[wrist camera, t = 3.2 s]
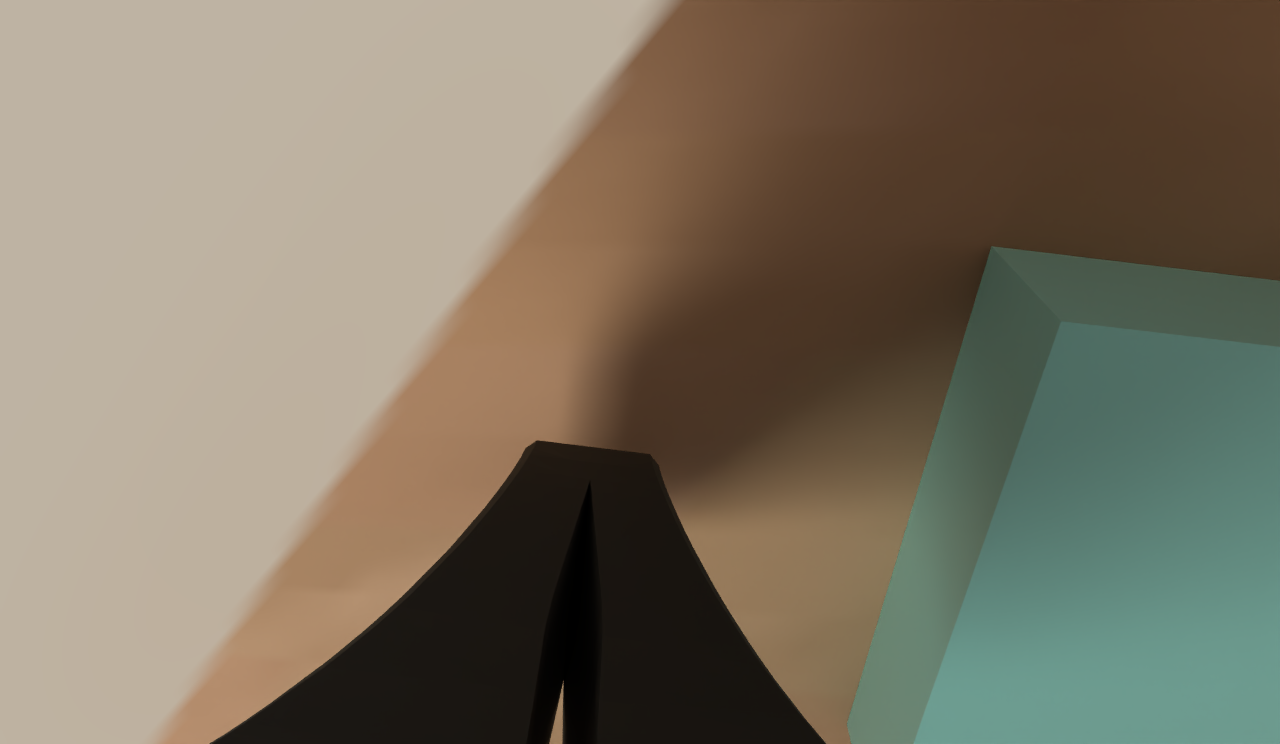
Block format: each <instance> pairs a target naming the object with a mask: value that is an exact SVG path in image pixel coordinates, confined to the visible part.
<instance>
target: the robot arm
mask: <svg viewBox="0 0 1280 744" xmlns="http://www.w3.org/2000/svg"><path fill="white" fill-rule="evenodd" d="M563 680H564V689H563V743H562V744H826V743H825V742H824V741H823V740H822V738H821V737H820V736H819V735H818V734H817V732H816V731H815V730H814V729H813V728H812V726H811V725H810V724H809V723H808V722H807V720H806V719H805V718H804V717H803V716H802V714H801V713H800V712H799V710H798V709H797V708H796V706H795V705H794V704H793V703H792V701H791V700H790V699H789V697H788V696H787V695H786V694H785V692H784V691H783V690H782V688H781V687H780V686H779V684H778V683H777V682H776V680H775V679H774V678H773V676H772V675H771V674H770V672H769V671H768V669H767V668H766V667H765V665H764V664H763V662H762V661H761V659H760V658H759V656H758V655H757V654H756V652H755V651H754V649H753V648H752V646H751V645H750V643H749V642H748V640H747V639H746V637H745V636H744V634H743V632H742V631H741V629H740V628H739V626H738V625H737V623H736V622H735V620H734V618H733V617H732V615H731V614H730V612H729V611H728V609H727V607H726V606H725V604H724V602H723V601H722V599H721V597H720V595H719V594H718V592H717V590H716V589H715V587H714V585H713V583H712V582H711V580H710V578H709V576H708V574H707V572H706V570H705V569H704V567H703V565H702V563H701V561H700V559H699V558H698V556H697V554H696V552H695V550H694V548H693V546H692V544H691V542H690V540H689V538H688V536H687V534H686V532H685V530H684V528H683V526H682V524H681V522H680V520H679V517H678V515H677V513H676V511H675V509H674V506H673V504H672V502H671V499H670V497H669V494H668V492H667V489H666V487H665V484H664V481H663V478H662V476H661V473H660V469H659V466H658V464H657V463H656V461H655V460H654V459H653V458H652V456H651V455H650V454H643V453H635V452H627V451H619V450H610V449H602V448H594V447H586V446H578V445H570V444H562V443H554V442H546V441H538V440H537V441H536V442H534V443H533V444H531V445H530V446H528V447H527V448H526V449H525V451H524V452H523V454H522V456H521V458H520V460H519V461H518V463H517V464H516V466H515V467H514V469H513V471H512V472H511V474H510V475H509V476H508V478H507V479H506V481H505V482H504V483H503V485H502V486H501V487H500V489H499V490H498V491H497V493H496V494H495V495H494V497H493V498H492V499H491V500H490V502H489V503H488V504H487V506H486V507H485V508H484V509H483V510H482V512H481V513H480V514H479V515H478V516H477V517H476V519H475V520H474V521H473V522H472V523H471V524H470V526H469V527H468V528H467V529H466V530H465V531H464V533H463V534H462V535H461V536H460V537H459V538H458V540H457V541H456V542H455V543H454V544H453V545H452V546H451V547H450V549H449V550H448V551H447V552H446V553H445V554H444V555H443V556H442V557H441V558H440V559H439V560H438V561H437V562H436V563H435V564H434V565H433V566H432V567H431V568H430V569H429V570H428V571H427V572H426V573H425V574H424V575H423V576H422V577H421V578H420V579H419V580H418V581H417V582H416V583H415V584H414V585H413V586H412V587H411V588H410V589H409V590H408V591H407V592H406V593H405V594H404V595H403V596H402V597H401V598H400V599H399V600H398V601H397V602H396V603H395V604H394V605H393V606H391V607H390V608H389V609H388V610H387V611H386V612H385V613H384V614H383V615H382V616H380V617H379V618H378V619H377V620H376V621H375V622H374V623H373V624H371V625H370V626H369V627H368V628H367V629H366V630H364V631H363V632H362V633H361V634H360V635H359V636H357V637H356V638H355V639H354V640H352V641H351V642H350V643H349V644H348V645H346V646H345V647H344V648H343V649H342V650H340V651H339V652H338V653H337V654H335V655H334V656H333V657H332V658H331V659H329V660H328V661H327V662H325V663H324V664H323V665H322V666H320V667H319V668H317V669H316V670H315V671H313V672H312V673H311V674H309V675H308V676H307V677H305V678H304V679H303V680H301V681H300V682H299V683H297V684H296V685H295V686H293V687H292V688H291V689H289V690H288V691H286V692H285V693H284V694H282V695H281V696H280V697H278V698H277V699H276V700H274V701H273V702H272V703H270V704H269V705H267V706H266V707H264V708H263V709H262V710H260V711H259V712H257V713H256V714H254V715H253V716H251V717H250V718H249V719H247V720H246V721H244V722H243V723H241V724H240V725H238V726H237V727H235V728H234V729H232V730H231V731H229V732H228V733H226V734H224V735H223V736H221V737H220V738H218V739H216V740H215V741H213V742H211V743H210V744H549V742H550V738H551V733H552V729H553V724H554V720H555V716H556V711H557V707H558V702H559V698H560V693H561V689H562V684H563Z"/></svg>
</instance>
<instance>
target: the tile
mask: <svg viewBox="0 0 1280 744" xmlns="http://www.w3.org/2000/svg"><path fill="white" fill-rule="evenodd" d="M847 727H848V731H849V736H850V740H851V744H1280V281H1277V280H1269V279H1261V278H1252V277H1244V276H1236V275H1227V274H1219V273H1211V272H1202V271H1194V270H1186V269H1177V268H1169V267H1161V266H1152V265H1144V264H1136V263H1127V262H1119V261H1111V260H1102V259H1094V258H1086V257H1077V256H1069V255H1061V254H1052V253H1044V252H1036V251H1027V250H1019V249H1011V248H1002V247H994V246H991V249H990V253H989V256H988V259H987V263H986V266H985V269H984V273H983V276H982V279H981V282H980V286H979V289H978V292H977V296H976V299H975V302H974V306H973V309H972V312H971V316H970V319H969V322H968V325H967V329H966V332H965V335H964V339H963V342H962V345H961V349H960V352H959V355H958V358H957V362H956V365H955V368H954V372H953V375H952V378H951V382H950V385H949V388H948V392H947V395H946V398H945V401H944V405H943V408H942V411H941V415H940V418H939V421H938V425H937V428H936V431H935V434H934V438H933V441H932V444H931V448H930V451H929V454H928V458H927V461H926V464H925V468H924V471H923V474H922V477H921V481H920V484H919V487H918V491H917V494H916V497H915V501H914V504H913V507H912V510H911V514H910V517H909V520H908V524H907V527H906V530H905V534H904V537H903V540H902V544H901V547H900V550H899V553H898V557H897V560H896V563H895V567H894V570H893V573H892V577H891V580H890V583H889V586H888V590H887V593H886V596H885V600H884V603H883V606H882V610H881V613H880V616H879V619H878V623H877V626H876V629H875V633H874V636H873V639H872V643H871V646H870V649H869V653H868V656H867V659H866V662H865V666H864V669H863V672H862V676H861V679H860V682H859V686H858V689H857V692H856V695H855V699H854V702H853V705H852V709H851V712H850V715H849V719H848V722H847Z"/></svg>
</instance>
